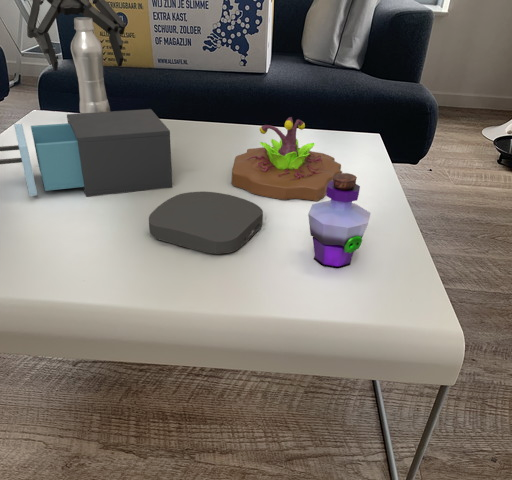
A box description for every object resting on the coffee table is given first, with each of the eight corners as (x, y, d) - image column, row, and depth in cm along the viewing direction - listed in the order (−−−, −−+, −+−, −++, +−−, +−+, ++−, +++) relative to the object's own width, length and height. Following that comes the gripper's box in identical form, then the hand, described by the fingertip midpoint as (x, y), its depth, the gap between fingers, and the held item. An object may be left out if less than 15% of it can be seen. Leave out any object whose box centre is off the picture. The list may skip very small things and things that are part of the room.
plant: (217, 191, 94) (217, 123, 87) (245, 154, 109) (247, 94, 102) (332, 207, 91) (342, 139, 84) (345, 167, 106) (354, 106, 99)
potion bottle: (344, 281, 72) (359, 195, 65) (290, 259, 76) (298, 176, 69) (373, 257, 78) (390, 175, 70) (322, 238, 82) (333, 159, 74)
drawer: (-5, 199, 85) (-18, 149, 80) (-7, 173, 93) (-19, 126, 88) (115, 187, 91) (109, 139, 86) (102, 163, 99) (97, 118, 94)
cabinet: (86, 196, 89) (77, 137, 83) (75, 169, 98) (66, 114, 92) (172, 187, 94) (169, 130, 88) (154, 162, 103) (151, 108, 97)
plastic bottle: (115, 119, 123) (104, 17, 110) (105, 128, 117) (92, 22, 105) (88, 117, 123) (74, 15, 111) (76, 125, 118) (60, 19, 106)
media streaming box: (139, 237, 79) (137, 218, 77) (189, 201, 90) (188, 183, 88) (229, 261, 75) (229, 241, 73) (270, 220, 86) (271, 202, 84)
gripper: (113, -16, 123) (142, 71, 122) (-5, -16, 112) (26, 79, 112) (118, -43, 116) (149, 49, 115) (-7, -45, 106) (26, 56, 105)
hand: (89, 64), depth 113 cm, fingers open, 13 cm apart
